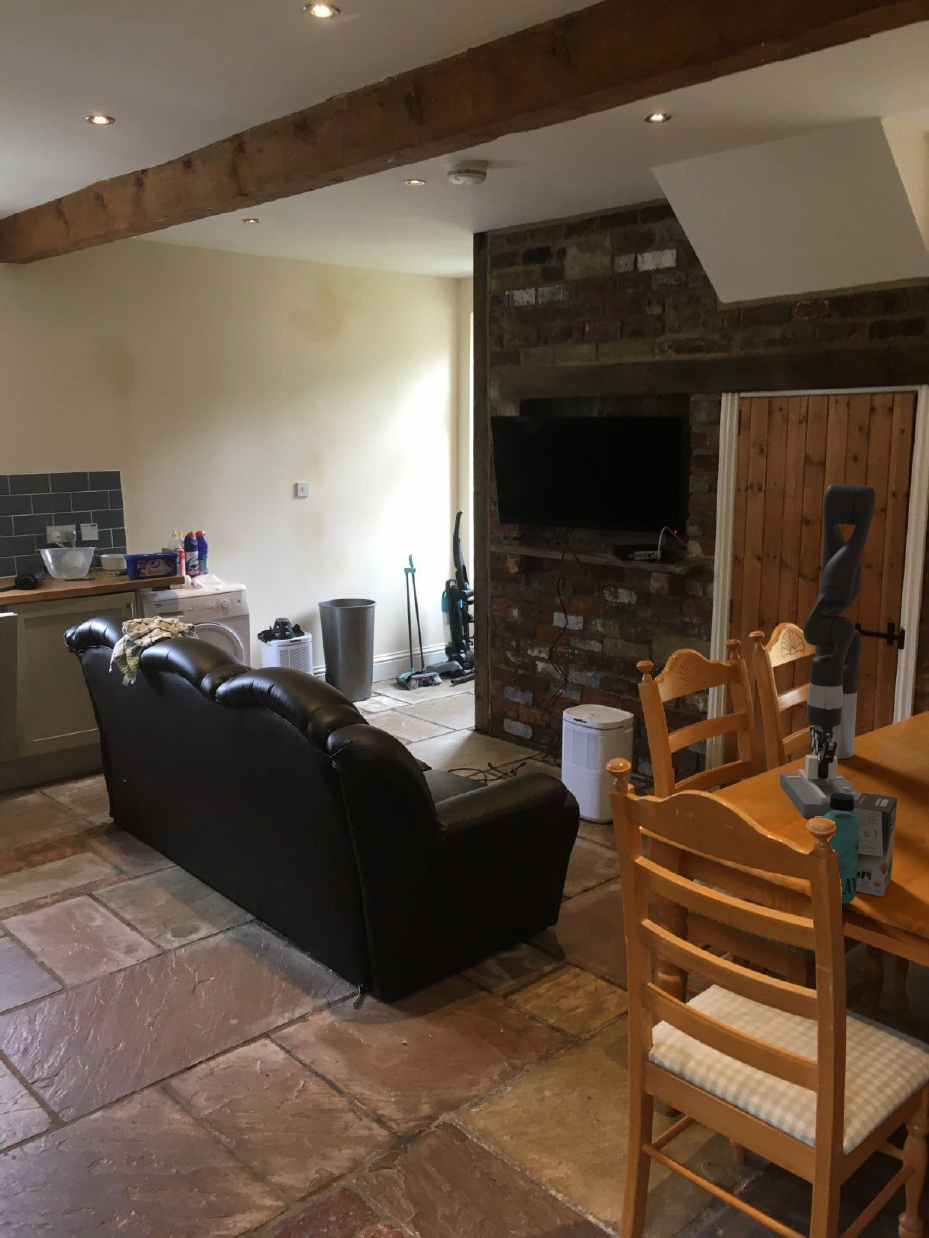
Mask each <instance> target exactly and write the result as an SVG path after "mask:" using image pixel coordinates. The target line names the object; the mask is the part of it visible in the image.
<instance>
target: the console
mask: <svg viewBox="0 0 929 1238" xmlns="http://www.w3.org/2000/svg"><path fill="white" fill-rule="evenodd" d="M779 775H780V776H779V786H780V787H781V788H782V790H783V791H784V792H785V794H786V795H787V796H788V798H789V800H791V802H792V803H793V805H794V806H795V807H796V808H797V810H798V812H799V813H800V814H801V815H802V817H803V818H816V817H815V816H824V815H825V814H827V813H828V812H830V811H834V810H835V809H832V808H830V807H829V802H830V796H831V794H834V793H845V794H849V795H851V796H853V797H854V804H855V802H856V801H857V799H858V798H859V797H860V795H861V794H862V793H860V792H859V791H858V790H857V789H856V788H855V787H854V785H852V784H851V783H850V781H848V779H846V777H845V776H844V775H843V774H842V773H838V772H837V779H826V780H827V781H828V782H829V784H828V786H817V785H816V784H815V783H814V782H813V780H812V779H808V778H807V777H806V776H805V769H800V768H799V769H797V772H780V774H779ZM847 812H850V813H852V814H853V810H851V811H847Z"/></svg>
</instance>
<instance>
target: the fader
mask: <svg viewBox="0 0 929 1238" xmlns="http://www.w3.org/2000/svg"><path fill="white" fill-rule="evenodd" d="M825 757H827V756H825ZM804 767H805V768H804V771H805V776H806V777H807V778H808V779H812V780H813V782H814V783H815V784H816V785H817V786H828V784H829V782H828V781H827V780H826V779H819V778H818V776H817V774H818V755H813V754H805V766H804ZM837 773H838V758H837V757H836V756H834V760H833V763H829V770H828V778H827V779H837Z"/></svg>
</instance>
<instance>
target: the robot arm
mask: <svg viewBox="0 0 929 1238" xmlns="http://www.w3.org/2000/svg"><path fill="white" fill-rule="evenodd" d="M822 507H823V508H822V519H823V520H822V521H823V522H822V523H823V525H822V526H823V527H822V528H823V533H822V534H823V548H822V557H821V558H822V559H821V570H820V584H819V585H820V586H819V592H818V596H817V599H816V601H815V603H814V605H813V607H812V609H811V611H810V613H809V615H808V616H807V619H806V620H805V623H804V627H803V632H802V633H803V635H802V636H803V638H804V640H805V642H806V643H807V644H808V645H810V646H814V649H815V650H814V651H815V656H814V657H813V658H812V659H810V660H811V661H810V668H809V682H808V683H809V684H808V688H807V700H806V701H807V702H806V717H805V719H806V721H807V723H808V724H810V725H813V726H810V727H809V729H808V730H809V739H810V742H809V743H810V751H811V753H812V755H818V774H817V776H818V778H819V779H827V778H828V770H829V763H833V760H834V756H836V757H837V758H838V759H839V760H842V759H843V760H845V759H851V758H853V756H854V753H855V752H854V749H855V737H856V735H855V734H856V733H855V732H856V721H857V720H856V719H857V717H856V715H857V698H858V681H859V677H858V676H859V667H860V658H861V651H862V635H861V633H860V631H859V630H858V629H856V628H855V624H854V623H853V621H852V620H851V619H850V618H849V617H846V616H841V614H842V613H844V612H845V611H846V609H848V607H850V606H851V604H852V603H854V601H855V600H856V598H857V597H858V595H859V594H860V591H861V584H862V583H861V581H862V567H861V566H862V565H861V563H860V560H861V557H862V555H863V552H864V549H865V545H866V542H867V539H868V536H869V532H870V529H871V527H872V526H871V525H872V521H873V518H874V513H875V510H876V509H875V508H876V491H875V489H874V488H873V487H872V486H869V485H861V484H859V485H858V484H847V483H846V484H845V483H844V484H841V483H832V484H830V485H829V486H828V487H826V490H825V492H824V496H823V506H822ZM840 525H847V526H855V527H854V529H853V531H852V534H851V536H850V537H849V538H848V540H847V541H846V540H845V539H844V536H843V534H842V530H841V527H840ZM825 756H827V757H825Z"/></svg>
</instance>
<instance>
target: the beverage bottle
mask: <svg viewBox="0 0 929 1238" xmlns="http://www.w3.org/2000/svg"><path fill="white" fill-rule="evenodd" d="M829 807H830V808H832V809H835V810H834V811H830V812H828V813H827V814H825V815H824V816H823V817H821V819H822V818H828V819H830V820H832V821H834V822H835V825H836V832H835V835H833V836H832V838H830V840H829V842H830V845H831V846H832V849H834V850H835V852H837V853H838V866H839V873H840V879H841V887H842V903H841V904H848V903H850V902H853V901H854V900H855V897H856V895H857V892H856V886H857V883H856V882H857V873H856V872H857V869H858V867H857V866H858V865H857V861H858V860H857V856H858V853H859V851H858V850H859V849H858V847H859V846H858V845H859V842H858V840H859V825H860V822H859V820H858V819H857V818H856V817H855V816H854V815H853V814H852V813H850V812H847V811H851V810H854V797H853V796H851V795H849V794H845V793H834V794H831V796H830V802H829Z"/></svg>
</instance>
